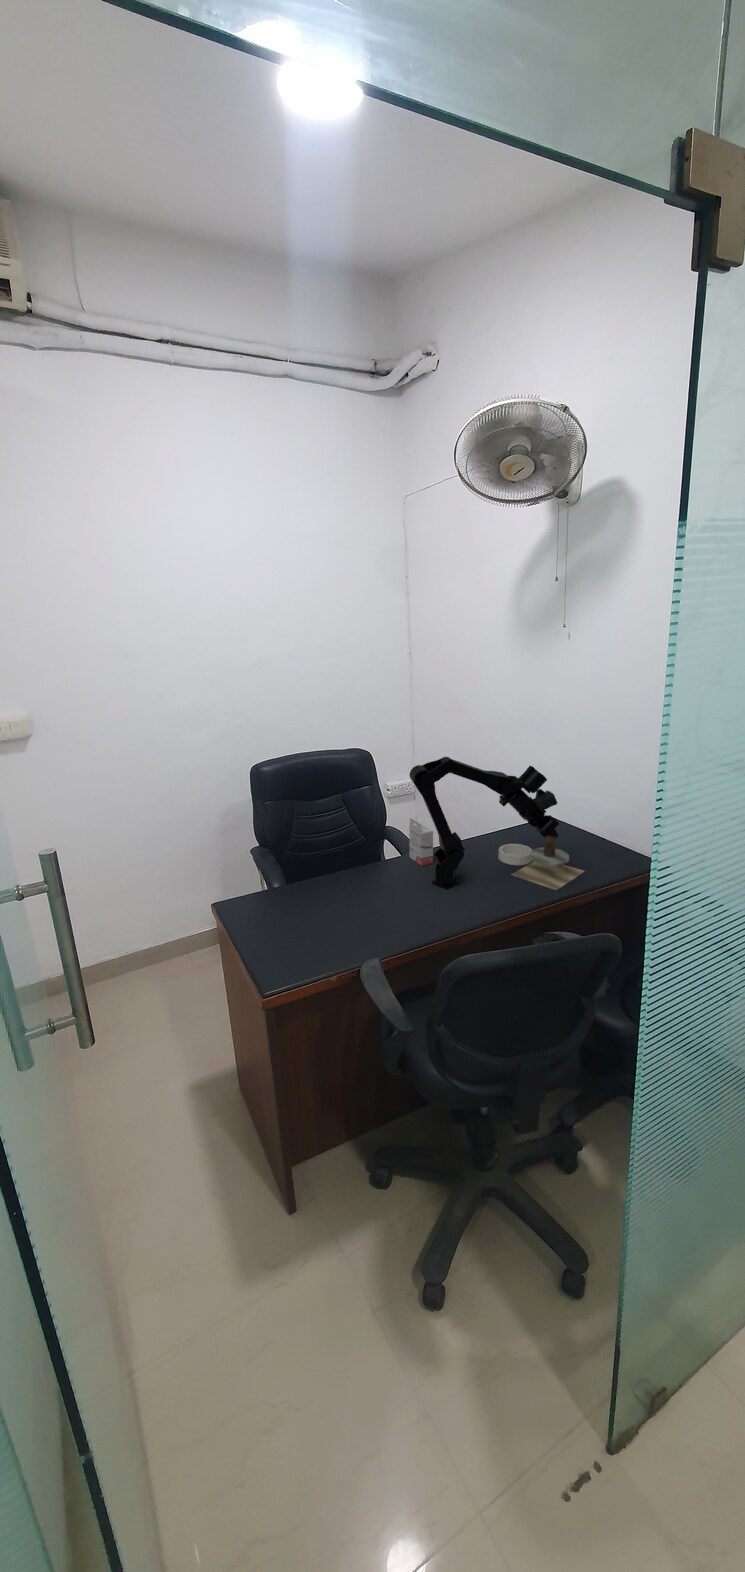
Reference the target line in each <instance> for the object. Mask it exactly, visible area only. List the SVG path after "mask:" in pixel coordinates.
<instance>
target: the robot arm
mask: <svg viewBox="0 0 745 1572" xmlns="http://www.w3.org/2000/svg"><path fill="white" fill-rule="evenodd" d="M448 774H451V775H454V776H458V777H462V778H463V779H467V780H469V781H473V782H475V783H478V784H481V785H484V786H485V787H486V788H488V789H490V790H492V791H494V792H495V793H497V794H498V795H499V800H498V801H499V804H500V805H502V807H505V806H506V805H507V804H509V805H510V806H511V807H512V808H513V809H514V810H515V811H516V813H518V815H519V816H520V817H521V818H522V819H523V820H524V821H527V823H528V824H529V826H531V827H534V828H535V831H536V832H538V834H540V835H541V836H542V837H543V838H544V839H545V837H547V836H551V837H554V838H556V839H558V838H559V834H558V832H556V830H555V828H556V827H557V828H558V826H559V824H560V822H559V821H558V820H557V818H555V817H554V816H552V815H551V814H550V815H547V814H546V813H547V811H546V810H547V809H549V808H551V807H553V806H556V805H558V801H557V798H556V796H555V794H554V793H553V792H552V791H550V790H545V791H544V790H543V789H542V788H541V787H542V786H543V785H544V784H546V782H548V778H546V776H545V775H544V774H542V773H541V772H539V770H537V769H536V768H535V767H534V766H533V765H529V766H528V767H527V768H526V770H525V771H523V773H521V775H520V776H519V777H517V776H515V775H507V774H506V773H504V772H501V771H495V770H484V769H481V768H478V767H476V766H472V765H470V764H468V763H465V762H461V761H459V760H455V759H452V758H451V757H449V756H443V757H441V758H439V759H436V760H432V761H429V762H426V763H424V764H418V765H414V766H413V767H412V768H411V770H410V772H409V779H410V781H412V783H413V785H414V786H415V788H416V789H417V791H418V792H419V793H420V795H421V796H422V799H423V800H424V804H425V806H426V808H427V811H428V813H429V815H430V816H429V817H430V818H431V820H432V823H433V825H434V827H435V830H436V832H437V834H438V843H439V848H438V849H437V850H436V851H435V852H433V859H434V860H435V861H436V865H435V879H433V880H432V881H431V883H432V884H434V885H436V886H438V887H440V888H443V889H446V890H448V889H450V888H452V887H454V886H456V885H458V884H460V883H461V881H460V880H459V879H457V869H458V867H459V865H460V863H461V862H462V860H464V857H465V851H466V849H465V847H464V846H463V843H462V839H461V837H460V836H459V834H458V833H457V832H456V831H454V832H452V831H451V828H450V825H449V823H448V821H447V819H446V817H445V814H444V812H443V809H442V807H441V804H440V802H439V800H438V797H437V794H436V785H435V783H436V782H439V781H440V780H441V779H442V778H444V777H445V776H446V775H448ZM524 790H525V791H526V792H527V793H528V794H530V793H531V794H535V798H532V797H531V796H529V795H528V794H527V793H526V792H525V791H524Z"/></svg>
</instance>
